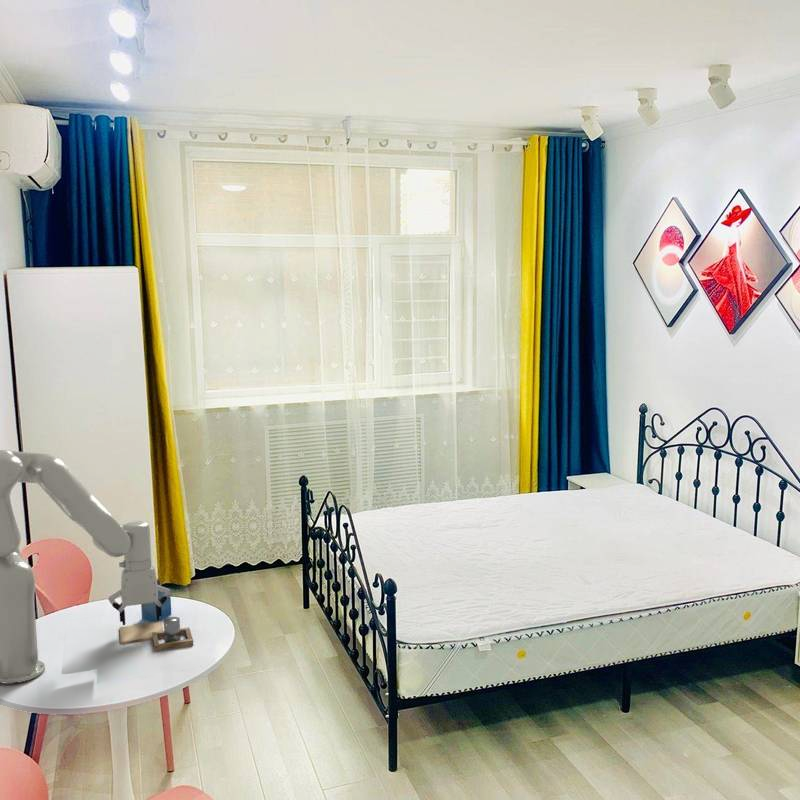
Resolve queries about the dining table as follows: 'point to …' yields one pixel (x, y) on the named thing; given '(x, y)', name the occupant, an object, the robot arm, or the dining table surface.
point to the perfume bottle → (150, 608)
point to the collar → (176, 643)
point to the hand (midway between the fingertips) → (141, 621)
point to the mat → (139, 632)
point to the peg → (172, 629)
